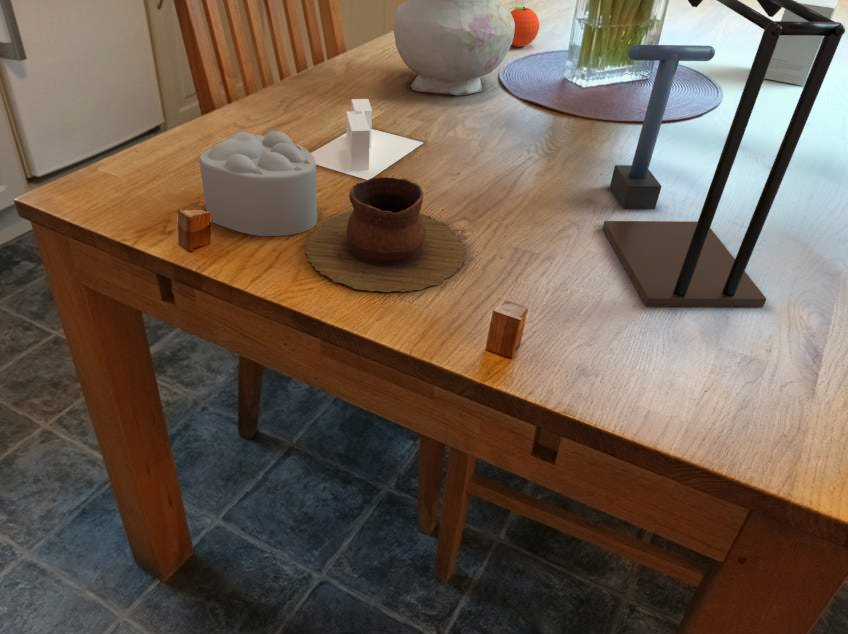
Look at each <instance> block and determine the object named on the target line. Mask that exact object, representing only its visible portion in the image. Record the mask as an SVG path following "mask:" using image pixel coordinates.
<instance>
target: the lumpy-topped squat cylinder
mask: <svg viewBox="0 0 848 634" xmlns="http://www.w3.org/2000/svg"><path fill="white" fill-rule="evenodd" d="M311 153H312V152H310V151H309V150H308V149H306V148H305V147H303V146H302V145H300V144H298V143H294V142H293V139H291V137H290V136H289V135H287V133H285V132H283V131H279V130H275V131H274V130H273V131H270V132H268V133H267V134H266V135H261V134H253V133H249V132H245V131H240V132H239V131H238V132H236V133H233V134H232V136H230V137H228V138H226V139H225V140H224V141H222V142H219V143H216V144H215V145H214V146H213V147H212V148H210V149H207V150H205V151H203V152H202V153H201V154H200V155H199V168H200V174H201V182H202V189H203V197H204V204H205V211H206V210H207V211H209V212H210V213H211V220H209V221H210V222H212V223H213V224H216V225H218V226H221V227H223V228H226V229H229V230H231V231H236V232H239V233H243V234H247V235H251V236H256V237H284V236H285V237H286V236H291V235H296V234H300V233H305V232H308V231H309V230H311V229H313V228H314V227H315V226H316V225H317V223H318V196H317V195H318V190H317V165H316V162H315V159H314V157H313V155H312V154H311Z"/></svg>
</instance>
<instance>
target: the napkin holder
mask: <svg viewBox="0 0 848 634" xmlns="http://www.w3.org/2000/svg"><path fill="white" fill-rule="evenodd" d="M422 145H424V142H423V141H419V140H415V139H412V138H408V137H404V136H400V135H395V134H392V133H388V132H385V131H381V130H377V129H373V109H372V106H371V104H370V100H369V98H354V99H353V98H351V110H349V111H346V132H345V133H343V134H342V135H340V136H338V137H336V138H334V139H333V140H331V141H330V142H328V143H326V144H324V145H322V146H320V147H318V148H317V149H316V150H313V151H312V152H310V153H311V154H312V155H313V157H314V159H315V162H316V166H319V167H323V168H326V169H328V170H329V169H330V170H332V171H336V172H339V173H343V174H346V175H349V176H353V177H356V178H360V179H363V180H365V181H367V180H369V179H370V178H374V177H376V176H377V175H379V174H380V173H381V172H383V171H385V170H386V169H387V168H389V167H391V166H392V165H394V164H395V163H396V162H398V161H399V160H401V159H402V158H404V157H405V156H407V155H408V154H410V153H411V152H413V151H414V150H415V149H417V148H418V147H420V146H422Z"/></svg>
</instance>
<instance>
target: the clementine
mask: <svg viewBox="0 0 848 634" xmlns="http://www.w3.org/2000/svg"><path fill="white" fill-rule="evenodd" d="M510 9H513V10H511V11H510ZM508 10H509V11H510V13H511V15H512V17H513V19H514V23H515V30H514V37H513V41H512V44H511V46H514V47H517V48H522V47H526V46H528V45H530V44H532V42H533V41H535V39H536V37H537V36H538V34H539V32H540V31H539V30H540V20H539V17H538V15H537V14H536V12H535V11H533V9H532V8H528V7H526V6H513V7H510V8H508Z"/></svg>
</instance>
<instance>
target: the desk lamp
mask: <svg viewBox="0 0 848 634" xmlns="http://www.w3.org/2000/svg"><path fill="white" fill-rule="evenodd" d="M716 1H717V2H719V3H720V4H722V5H724V6H725V7H727V8H728V9H730V10H731V11H733V12H734V13H736V14H738V15H740V16H741V17H743V18H744V19H746V20H748V21H749V22H751V23H752V24H754V25H755V26H757V27H759V28H760V29H762V30H763V33H762V35H761V38H760V41H759V44H758V47H757V50H756V53H755V56H754V59H753V61H752V63H751V67H750V70H749V73H748V76H747V79H746V81H745V83H744V84H745V85H744V87H743V89H742V93H741V96H740V99H739V102H738V105H737V107H736V110H735V113H734V116H733V119H732V121H731V125H730V128H729V131H728V133H727V136H726V138H725V142H724V145H723V147H722V150H721V154H720V156H719V160H718V163H717V164H716V167H715V171H714V173H713V177H712V179H711V182H710V185H709V188H708V191H707V194H706V196H705V200H704V202H703V205H702V208H701V211H700V214H699V217H698V220H697V221H685V220H683V221H682V220H681V221H679V220H678V221H675V220H674V221H672V220H671V221H670V220H669V221H668V220H663V221H662V220H647V221H646V220H604V221H603V224H602V230H603V233H605V236H606V237H607V239H608V241H609V242H610V244H611V246H612V248H613V249H614V251H615V254H616V255H617V257H618V259H619V260H620V262H621V263H622V266H623V268H624V269H625V271H626V273H627V275H628V276H629V278H630V280H631V281H632V283H633V286H634V287H635V289H636V291H637V292H638V294H639V296H640V298H641V300H642V302H643V303H644V305H645V307H726V308H727V307H729V308H730V307H732V308H733V307H734V308H735V307H737V308H738V307H739V308H740V307H744V308H745V307H746V308H747V307H750V308H751V307H753V308H756V307H757V308H758V307H759V308H760V307H761V308H762V307H764V306H765V305H766V301H767V297H766V296H765V295H764V294H763V292H762V291H761V290H760V288H759V287H758V285H756V283H755V282H754V281H753V280H752V278H751V277H750V276H749V275H748V274H747V272H746V269H747V266H748V264H749V262H750V260H751V257H752V254H753V252H754V250H755V248H756V245H757V243H758V240H759V237H760V235H761V233H762V230H763V228H764V227H765V226H764V225H765V223H766V222H767V218H768V216H769V213H770V211H771V208H772V206H773V204H774V201H775V199H776V198H777V197H776V196H777V194H778V192H779V190H780V187H781V185H782V182H783V180H784V177H785V175H786V172H787V170H788V167H789V165H790V163H791V160H792V157H793V155H794V153H795V151H796V148H797V146H798V143H799V141H800V139H801V136H802V134H803V131H804V129H805V126H806V125H807V123H808V122H807V121H808V119H809V117H810V114H811V112H812V110H813V107H814V105H815V102H816V100H817V98H818V95H819V92H820V90H821V89H822V88H821V87H822V85H823V83H824V81H825V78H826V76H827V73H828V71H829V69H830V66H831V64H832V61H833V59H834V57H835V54H836V52H837V49H838V47H839V44H840V42H841V40H842V37H843V35H844V34H845V32H846V27H845V26H844V25H843V24H842V22H840V21H834V20H833V19H832V20H831V19H829V18H827V17H825V16H823V15H821V14H819V13H817V12H815V11H813V10H811V9H809V8H807V7H805V6H803V5H801V4H799V3H797V2H796V1H794V0H770V1H772V2H773V3H775V4H777V5H779V6H781V7H782V8H783V9H784V10H785V9H786V10H788V11H790V12H792V13H794V14H796V15H798V16H799V17H801V18H803V19H805V20H807V21H809V22H794V21H781V20H773V19H771V18H770V17H767V16H765V15H764V14H762V13H760V12H759V11H757V10H755V9H754V8H753V7H751V6H749V5H747V4H745V3H743V2H742V1H740V0H716ZM780 35H791V36H824V38H823V40H822V43H821V45H820V48H819V50H818V53H817V55H816V58H815V60H814V63H813V65H812V68H811V70H810V73H809V75H808V77H807V79H806V81H805V83H804V85H803V88H802V91H801V93H800V96H799V98H798V100H797V102H796V103H797V104H796V106H795V109H794V110H793V113H792V117H791V118H790V120H789V123H788V126H787V128H786V130H785V133H784V136H783V138H782V140H781V143H780V145H779V147H778V151H777V153H776V156H775V158H774V161H773V163H772V166H771V168H770V171H769V174H768V175H767V178H766V181H765V183H764V185H763V188H762V191H761V193H760V195H759V199H758V201H757V203H756V206H755V208H754V210H753V214H752V216H751V218H750V221H749V223H748V225H747V229H746V231H745V233H744V236H743V238H742V240H741V243H740V246H739V249H738V251H737V253H736V256H735V257H734V256H733V254H732V253H731V252H730V250H728V248H727V247H726V245H724V243H723V242H722V241H721V239H720V238H719V237H718V236H717V235H716V233H715V232H714V231H713V229H712V228H711V226H712V224H713V220H714V218H715V215H716V213H717V209H718V207H719V204H720V201H721V199H722V196H723V194H724V190H725V187H726V185H727V182H728V180H729V177H730V174H731V171H732V168H733V166H734V162H735V161H736V157H737V154H738V152H739V149H740V146H741V144H742V141H743V138H744V135H745V132H746V129H747V127H748V124H749V122H750V119H751V115H752V113H753V110H754V108H755V105H756V103H757V100H758V97H759V94H760V91H761V88H762V86H763V83H764V80H765V78H764V77H765V74H766V72H767V69H768V66H769V63H770V61H771V58H772V55H773V52H774V50H775V47H776V44H777V41H778V39H779V36H780Z"/></svg>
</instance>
